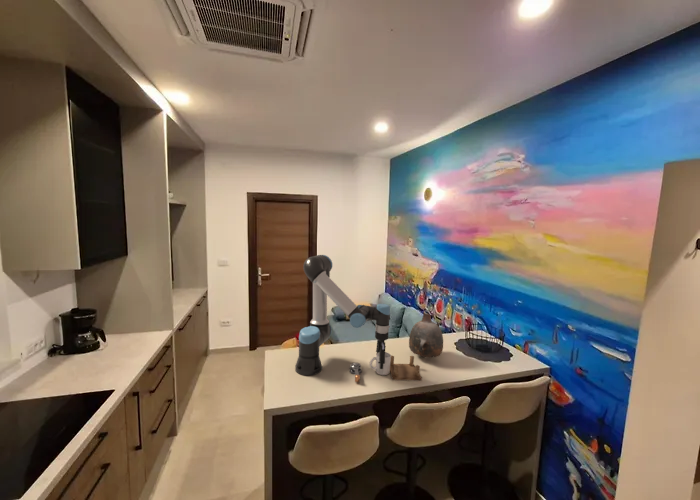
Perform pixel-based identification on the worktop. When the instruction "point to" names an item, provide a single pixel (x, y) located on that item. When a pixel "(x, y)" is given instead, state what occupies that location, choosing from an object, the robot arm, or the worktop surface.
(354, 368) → the grey metal tool
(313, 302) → the robot arm
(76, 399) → the worktop surface
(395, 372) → the peg rest
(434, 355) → the jug
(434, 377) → the worktop surface
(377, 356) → the mug
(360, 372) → the nut washer
